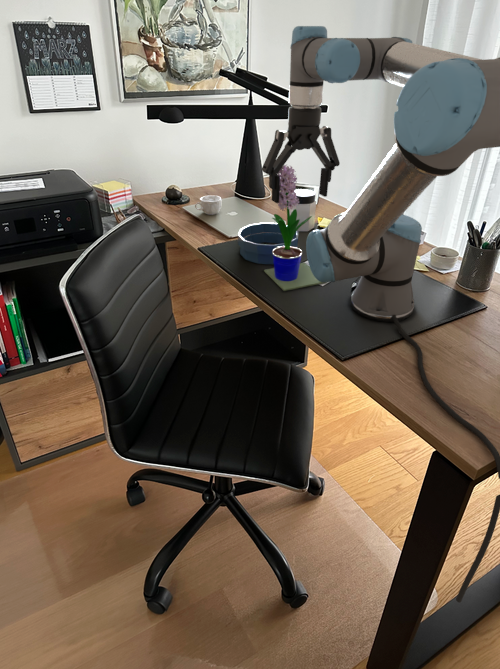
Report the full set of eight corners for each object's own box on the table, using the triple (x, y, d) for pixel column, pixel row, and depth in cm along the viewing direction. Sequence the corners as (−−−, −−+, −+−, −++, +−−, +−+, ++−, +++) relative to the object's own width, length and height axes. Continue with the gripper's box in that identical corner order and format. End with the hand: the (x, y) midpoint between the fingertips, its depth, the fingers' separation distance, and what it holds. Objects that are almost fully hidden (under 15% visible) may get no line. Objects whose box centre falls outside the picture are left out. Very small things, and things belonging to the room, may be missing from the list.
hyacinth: (305, 285, 127) (313, 170, 110) (267, 281, 129) (270, 168, 112) (309, 271, 134) (317, 161, 118) (273, 268, 136) (276, 159, 119)
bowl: (307, 259, 142) (309, 239, 139) (252, 269, 136) (252, 249, 133) (281, 237, 156) (282, 219, 153) (230, 246, 150) (229, 227, 147)
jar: (284, 225, 166) (285, 190, 159) (303, 221, 169) (306, 187, 162) (298, 233, 159) (300, 198, 152) (318, 229, 162) (321, 194, 156)
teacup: (218, 208, 180) (217, 194, 177) (224, 214, 174) (224, 200, 172) (192, 211, 177) (191, 197, 174) (198, 218, 171) (197, 203, 168)
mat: (326, 282, 129) (327, 281, 129) (284, 291, 125) (284, 289, 125) (304, 263, 139) (304, 262, 139) (264, 271, 135) (264, 269, 135)
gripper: (343, 101, 115) (334, 188, 127) (248, 106, 107) (248, 199, 119) (360, 105, 110) (349, 196, 121) (261, 111, 101) (260, 208, 113)
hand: (299, 198), depth 120 cm, fingers open, 13 cm apart
